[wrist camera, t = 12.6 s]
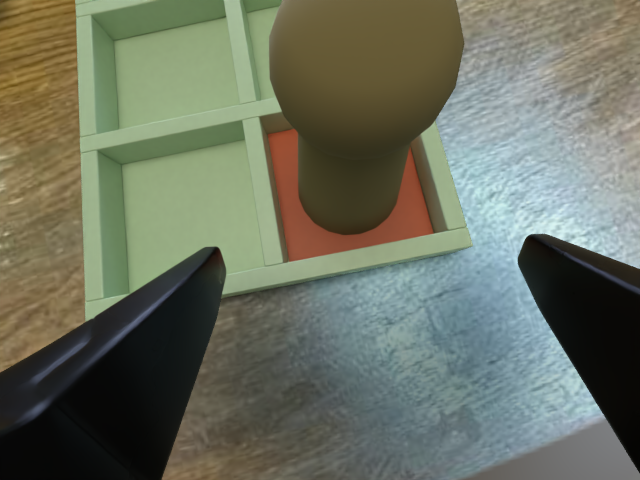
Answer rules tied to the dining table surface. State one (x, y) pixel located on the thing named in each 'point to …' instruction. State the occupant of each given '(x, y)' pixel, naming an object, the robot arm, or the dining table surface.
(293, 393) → the dining table surface
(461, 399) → the dining table surface
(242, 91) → the grid
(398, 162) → the cork
